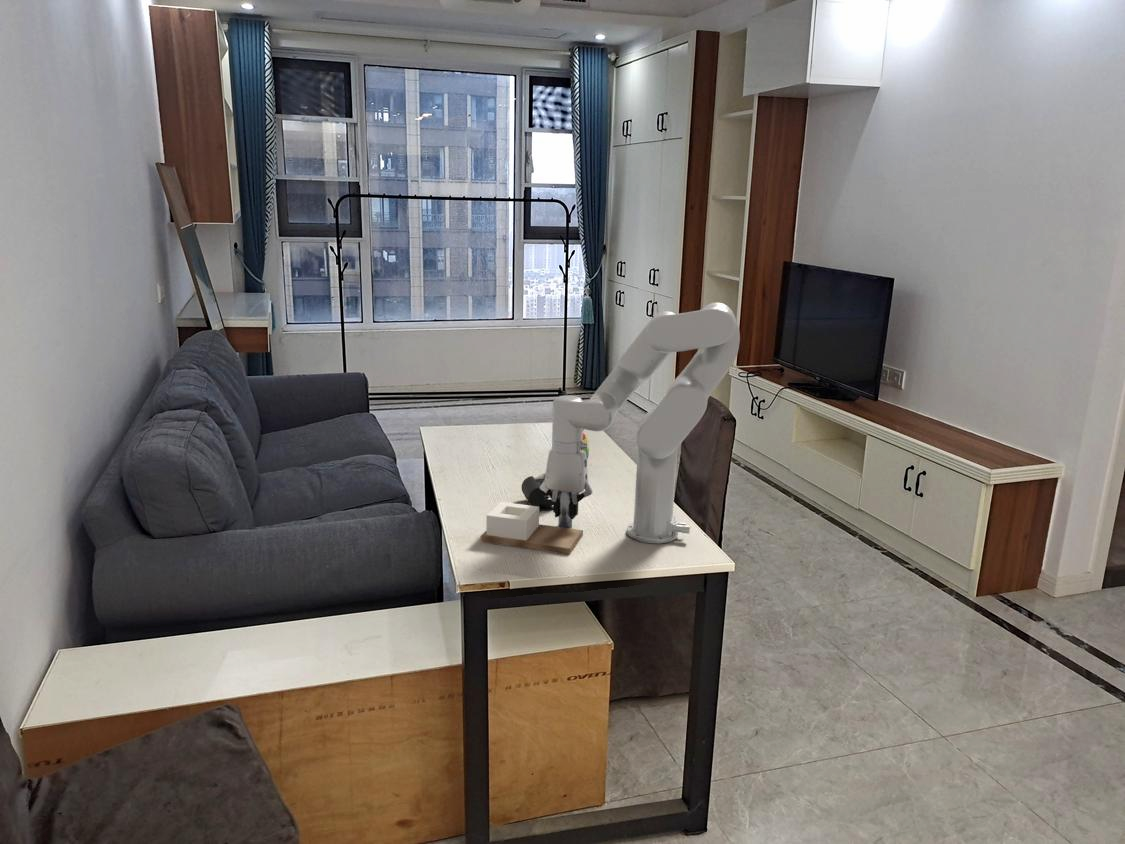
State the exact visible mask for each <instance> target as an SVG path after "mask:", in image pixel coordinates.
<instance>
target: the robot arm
mask: <svg viewBox="0 0 1125 844" xmlns="http://www.w3.org/2000/svg"><path fill="white" fill-rule="evenodd" d="M739 327H740V326H739V325H738V321H737V319H736V315H735V313H734V312H733V310H732V309H731V308H730V307H729V306H728V305H726V304H725V303H724V302H723V303H722V302H711V303H709V304H706V305H705V306H703V308H702V309H699V310H694V311H693V310H692V311H687V312H681V313H674V312H672V311H670V310H664V311H659V312H658V313H656V314H654V316H652V318H651V319H649V322H647V324H646V325H645V326H644V328H643V329H642V330H641V331H640V333H639V334H638V335H637V336H636V338H634V340H633V341H632V342H631V344H630V346H629V347H627V349H626V350H625V352H623V354H622V355H621V356H620V358H619V359H618V360H617V362H616V364H615V366H614V367H613V369H612V370H611V372H610V373H609V374H608V375H607V376H606V378H605V379H604V380H603V382H601V385H599V386H598V388H597V389H596V391H594V393H593V394H592V396H591V397H589V398H590V399H589V400H588V401H583V399H582V398H581V397H579V396H575V395H559V396H557V397H555V398H554V399H553V401H552V427H551V429H552V430H551V448H550V449H549V450H548V451H549V452H548V456H547V461H546V468H545V477H544V479H545V480H544V481H543V483H542V484H541V486H540V489H541V490H543V491H544V492H545V493H547V494H548V496H549V499H552V501H553V505H552V506H553V510H552V512H553V513H554V518H559V491H566V492H572V500H573V501H572V503H571V506H570V519H572V520H574V519H575V518H576V516H578V514H579V502H581V501H582V500H583V499H585V498H587V497H588V496H591V495H593V493H594V492H593V489H592V488H591V486H590V483H589V475H588V474H589V468H588V460H587V457H586V452H585V451H582V450H583V449H588V446H589V443H588V444H586V443H584V442H583V433H584V430H586V431H590V432H604V431H607V430H608V428H610V427H611V426H612V423H613V422H614V419H615V417H616V415H617V413H618V412H619V410H621V408H622V406H624V405H625V403H626V402H627V401H628V400H629V398H630V397H631V396H632V395H633V393H635V391H637V389H638V388H640V387H641V386H643V385H645V384H647V382H648V381H649V380H650V379H651V378H652V377H653V375H654V374H655V373H656V371H658V370H659V368H660V367H661V365H662V364H663V363H664V362H665V361H666V359H667V358H668V357H669V356H670V354H671V353H678V352H686V351H691V350H692V351H693V350H697V351H696V353H695V354H694V355H693V357H692V358H691V360H690V361H689V363H688V364H687V365H686V366H685V367H684V369H683V370H681V372H680V373H679V375H678V376H676V378H675V379H674V380H673V381H672V382H671V383H670V384H669V386H668V388H667V391H666V394H665V396H664V397H662V400H661V401H660V402H659V404H658V405H657V406H656V408H654V409H651V410H649V411H647V412H646V413H645V414H644V415H643V416H642V418H641V420H640V422H639V425H638V428H637V432H636V445H637V459H636V460H637V462H636V475H635V477H636V478H635V493H634V509H633V510H634V511H633V513H634V514H633V522H632V523H630V524H629V525H627V526H626V535H628V536H629V537H630V538H632V539H634V540H636V541H639V542H642V543H647V544H666V543H671V542H672V541H674V540H676V539H677V538H678V535H679V533H681V534H687V535H690V533H691V525H687V522H678V521H677V520H676V515H674V503H675V501H674V500H675V487H676V486H675V485H676V476H677V462H678V449H679V446H680V445H681V444H682V443H683V441H684V440H685V439H686V438H687V436H689V435H690V433H691V432H692V431H693V430H694V428H695V427H696V426H697V425H698V423H699V422H700V421H701V419H702V418H703V416H704V414H705V413H706V410H707V408H708V407H707V406H708V400H709V397H710V396H712V393H713V392H714V391H715V389H716V388H717V387H718V385H719V384H720V383H721V381H722V380H723V379H724V377H725V376H726V375H727V374H728V372H729V371H730V369H731V368H732V366H733V365H734V363H735V360H736V358H737V356H738V353H739V348H740V341H741V338H740V337H741V334H740V328H739ZM583 429H584V430H583Z"/></svg>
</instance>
